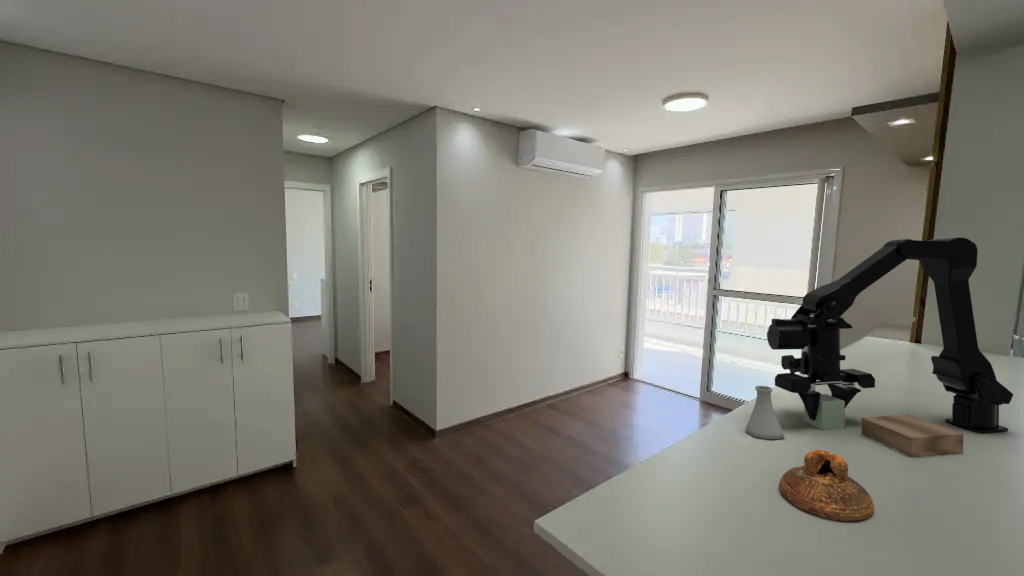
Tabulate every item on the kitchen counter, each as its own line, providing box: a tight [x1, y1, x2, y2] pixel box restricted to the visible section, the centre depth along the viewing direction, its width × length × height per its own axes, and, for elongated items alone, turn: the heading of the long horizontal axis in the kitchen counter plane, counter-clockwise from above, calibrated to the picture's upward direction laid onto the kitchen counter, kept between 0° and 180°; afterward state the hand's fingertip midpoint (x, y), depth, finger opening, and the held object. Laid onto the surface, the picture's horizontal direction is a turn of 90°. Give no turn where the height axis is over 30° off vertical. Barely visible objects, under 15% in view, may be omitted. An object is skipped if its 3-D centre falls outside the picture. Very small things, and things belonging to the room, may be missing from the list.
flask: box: [745, 385, 785, 440], centre depth 87 cm, size 7×7×10 cm
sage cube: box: [803, 393, 846, 431], centre depth 90 cm, size 5×5×6 cm
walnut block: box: [861, 414, 964, 459], centre depth 80 cm, size 10×10×4 cm
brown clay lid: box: [778, 449, 875, 522], centre depth 63 cm, size 12×12×7 cm
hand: (824, 418), depth 90 cm, fingers closed on sage cube, 5 cm apart
